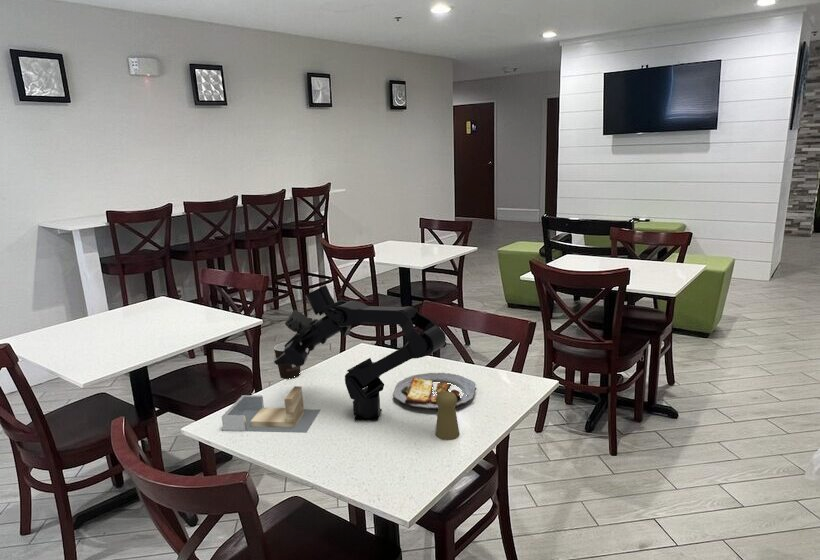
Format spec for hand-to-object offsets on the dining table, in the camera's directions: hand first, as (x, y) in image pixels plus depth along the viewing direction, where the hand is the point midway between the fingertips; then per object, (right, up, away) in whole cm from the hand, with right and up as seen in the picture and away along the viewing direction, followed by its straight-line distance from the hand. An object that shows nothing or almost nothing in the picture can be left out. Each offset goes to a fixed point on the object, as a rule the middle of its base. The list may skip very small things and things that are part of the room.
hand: (280, 354), depth 155 cm
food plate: (+44, -13, +6) cm, 46 cm away
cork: (+46, -18, -17) cm, 52 cm away
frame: (-8, -17, -5) cm, 19 cm away
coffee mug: (-1, -10, +26) cm, 28 cm away
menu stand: (+1, -17, -6) cm, 18 cm away
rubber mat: (-1, -17, -6) cm, 18 cm away
